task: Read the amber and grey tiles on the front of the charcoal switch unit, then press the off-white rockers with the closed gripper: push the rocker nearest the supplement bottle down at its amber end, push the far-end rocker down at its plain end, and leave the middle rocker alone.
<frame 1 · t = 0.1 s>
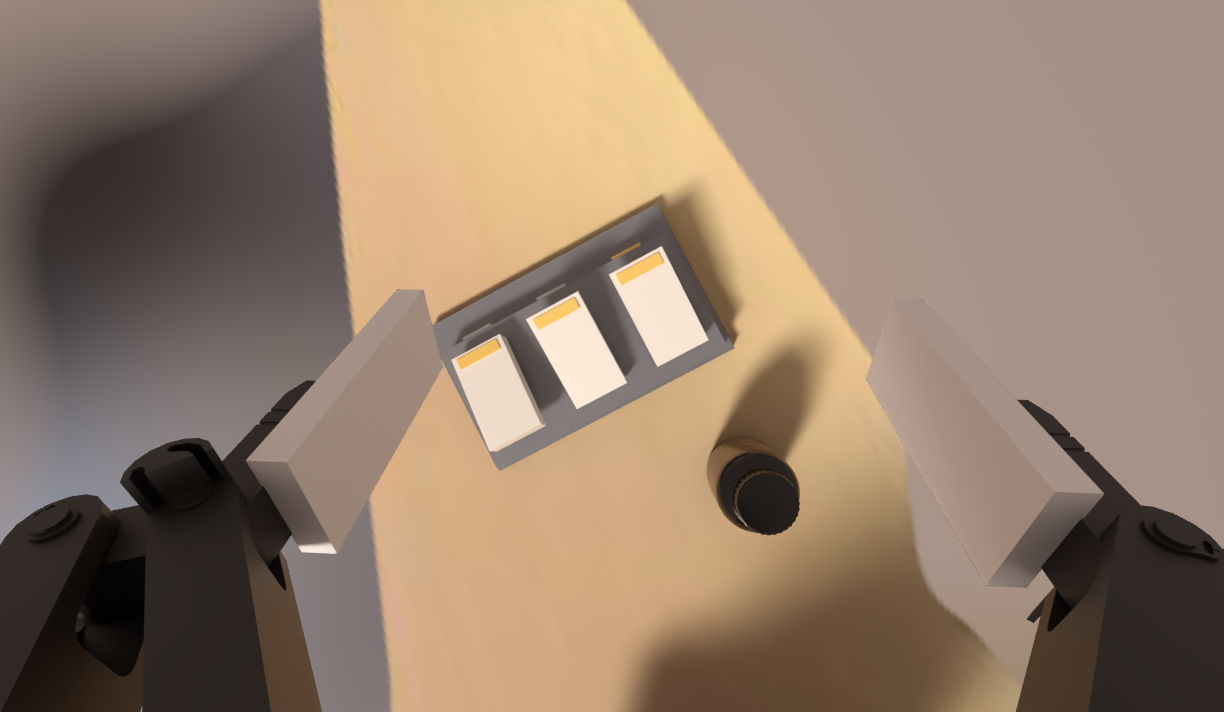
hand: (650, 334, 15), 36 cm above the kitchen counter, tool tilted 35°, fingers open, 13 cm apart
rocker a: (658, 307, 44), point 7 cm above the kitchen counter, hinge at -12.0°
switch unit: (579, 338, 51), on the kitchen counter
rocker c: (497, 392, 44), point 7 cm above the kitchen counter, hinge at 12.0°
supplement bottle: (739, 469, 50), on the kitchen counter
rocker b: (577, 350, 44), point 7 cm above the kitchen counter, hinge at -12.0°
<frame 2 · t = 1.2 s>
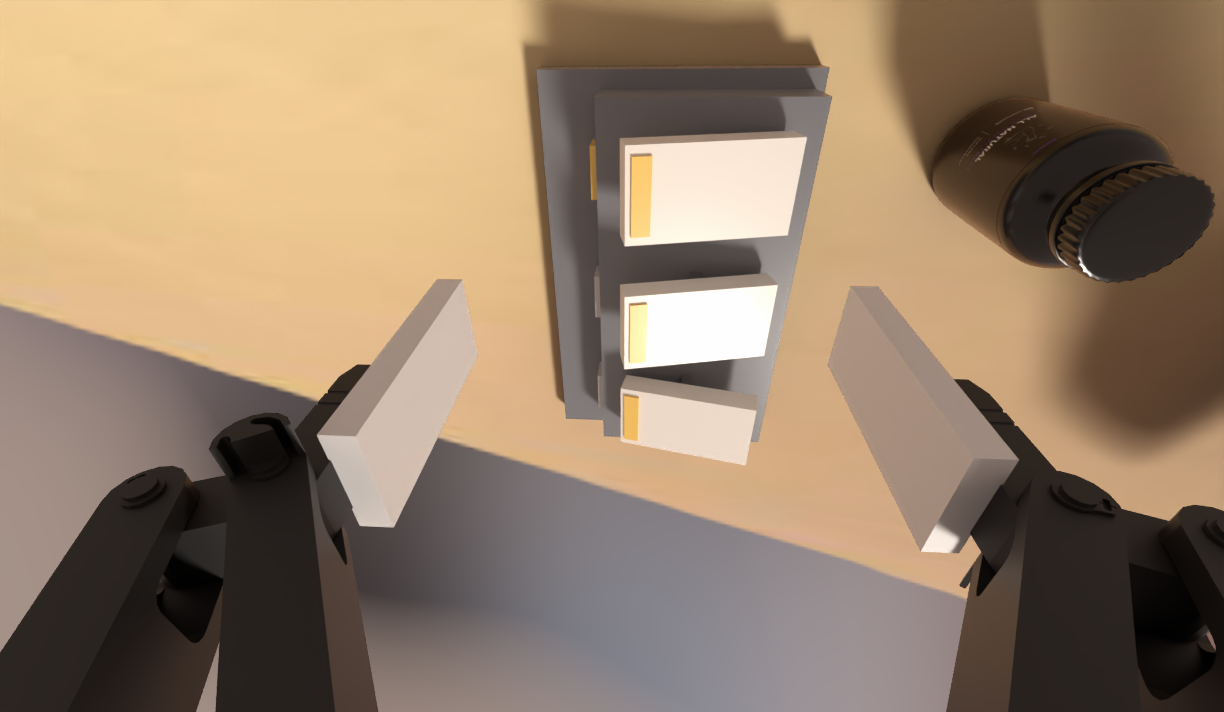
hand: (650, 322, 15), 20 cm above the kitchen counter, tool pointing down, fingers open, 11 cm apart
rocker a: (708, 189, 26), point 7 cm above the kitchen counter, hinge at -12.0°
switch unit: (667, 273, 36), on the kitchen counter
rocker c: (685, 420, 35), point 7 cm above the kitchen counter, hinge at 12.0°
supplement bottle: (986, 157, 31), on the kitchen counter
rocker b: (695, 322, 31), point 7 cm above the kitchen counter, hinge at -12.0°
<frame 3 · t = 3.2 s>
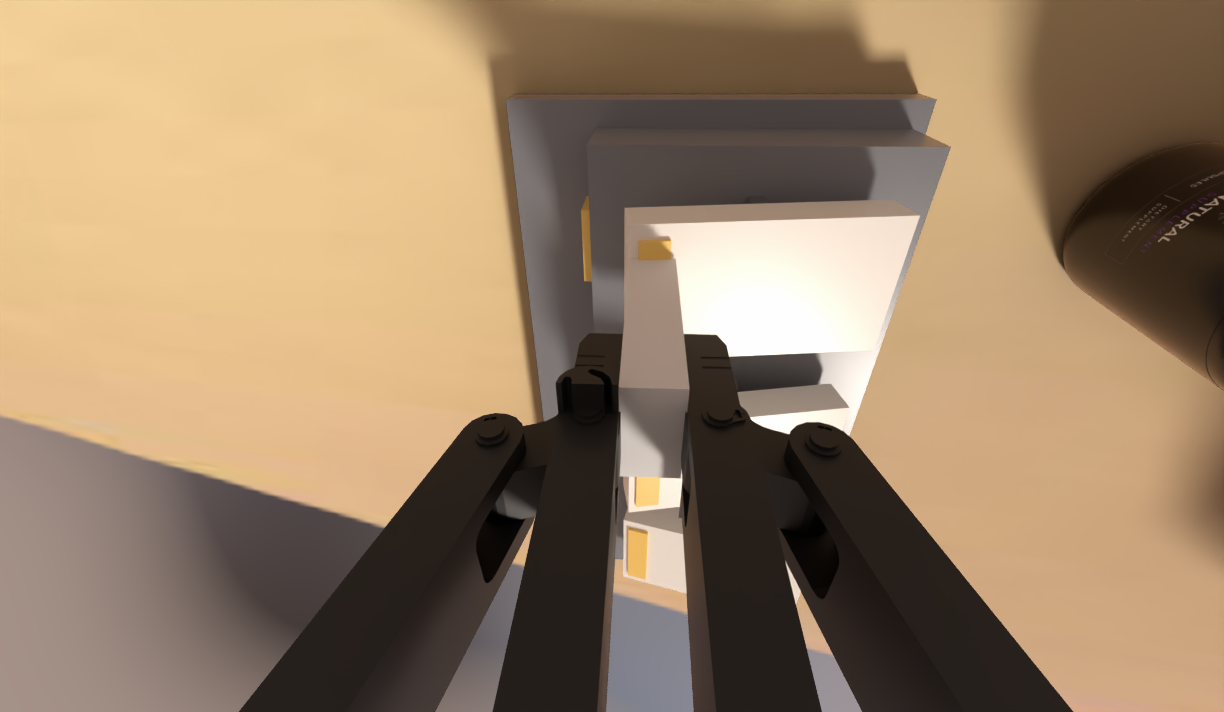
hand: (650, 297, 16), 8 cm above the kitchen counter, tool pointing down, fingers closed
rocker a: (756, 283, 17), point 7 cm above the kitchen counter, hinge at -8.1°, touching gripper
switch unit: (687, 359, 27), on the kitchen counter
rocker c: (709, 559, 26), point 7 cm above the kitchen counter, hinge at 12.0°
supplement bottle: (1142, 222, 22), on the kitchen counter
rocker b: (728, 450, 22), point 7 cm above the kitchen counter, hinge at -12.0°
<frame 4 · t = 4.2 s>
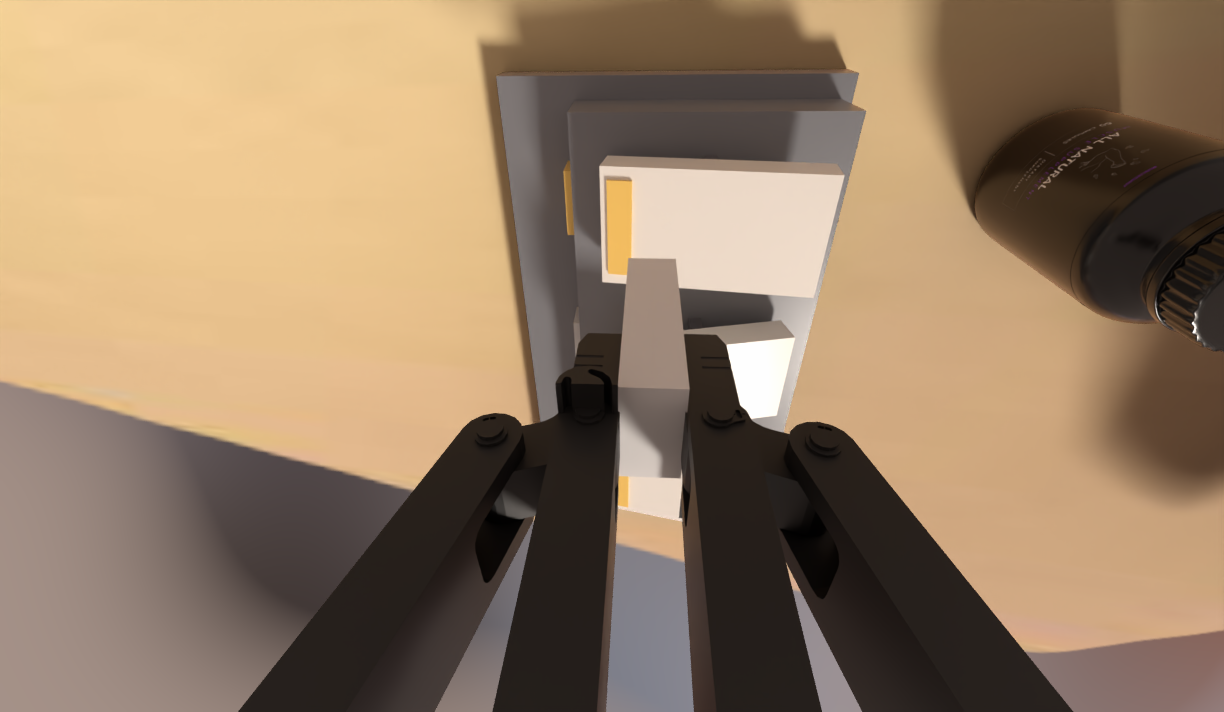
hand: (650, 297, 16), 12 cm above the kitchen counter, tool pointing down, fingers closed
rocker a: (711, 227, 21), point 7 cm above the kitchen counter, hinge at 8.2°
switch unit: (660, 311, 31), on the kitchen counter
rocker c: (683, 485, 30), point 7 cm above the kitchen counter, hinge at 12.0°
supplement bottle: (1038, 178, 26), on the kitchen counter
rocker b: (695, 379, 25), point 7 cm above the kitchen counter, hinge at -12.0°
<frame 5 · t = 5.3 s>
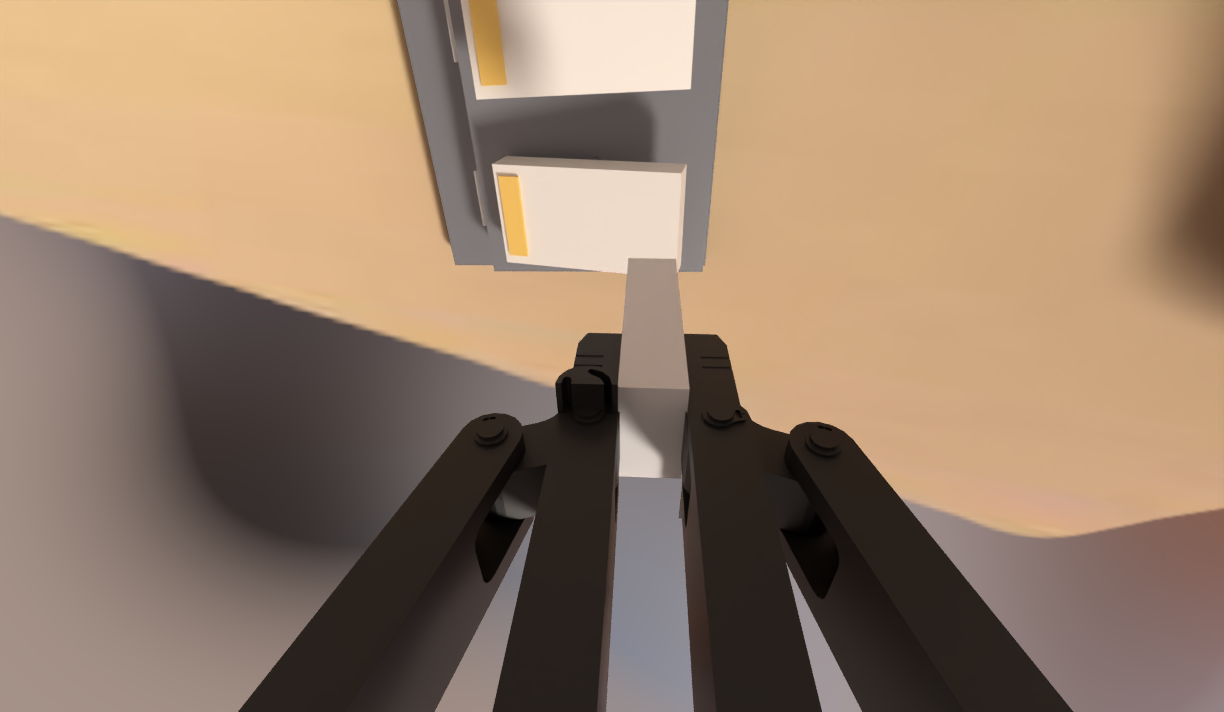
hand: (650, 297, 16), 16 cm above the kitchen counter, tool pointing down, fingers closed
switch unit: (565, 19, 26), on the kitchen counter
rocker c: (589, 217, 25), point 7 cm above the kitchen counter, hinge at 12.0°
rocker b: (580, 22, 20), point 7 cm above the kitchen counter, hinge at -12.0°
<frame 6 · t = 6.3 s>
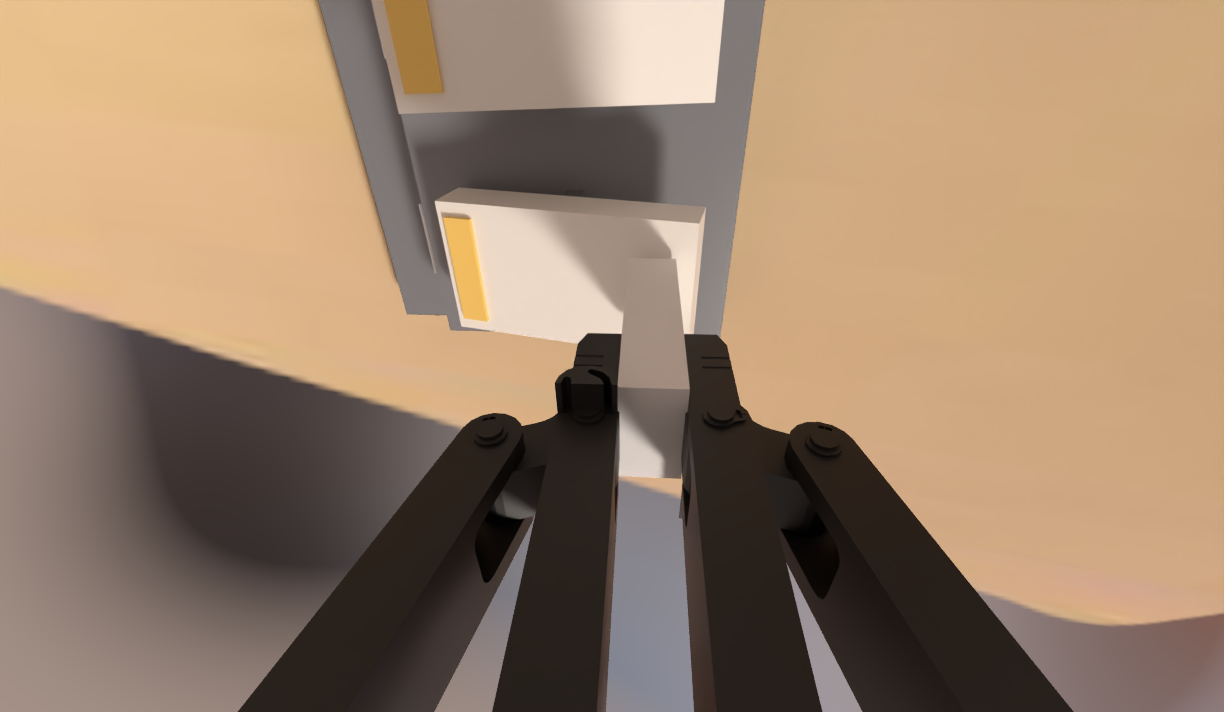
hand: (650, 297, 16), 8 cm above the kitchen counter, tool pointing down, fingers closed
switch unit: (543, 3, 19), on the kitchen counter
rocker c: (570, 273, 18), point 7 cm above the kitchen counter, hinge at 12.0°, touching gripper
rocker b: (554, 1, 13), point 7 cm above the kitchen counter, hinge at -12.0°
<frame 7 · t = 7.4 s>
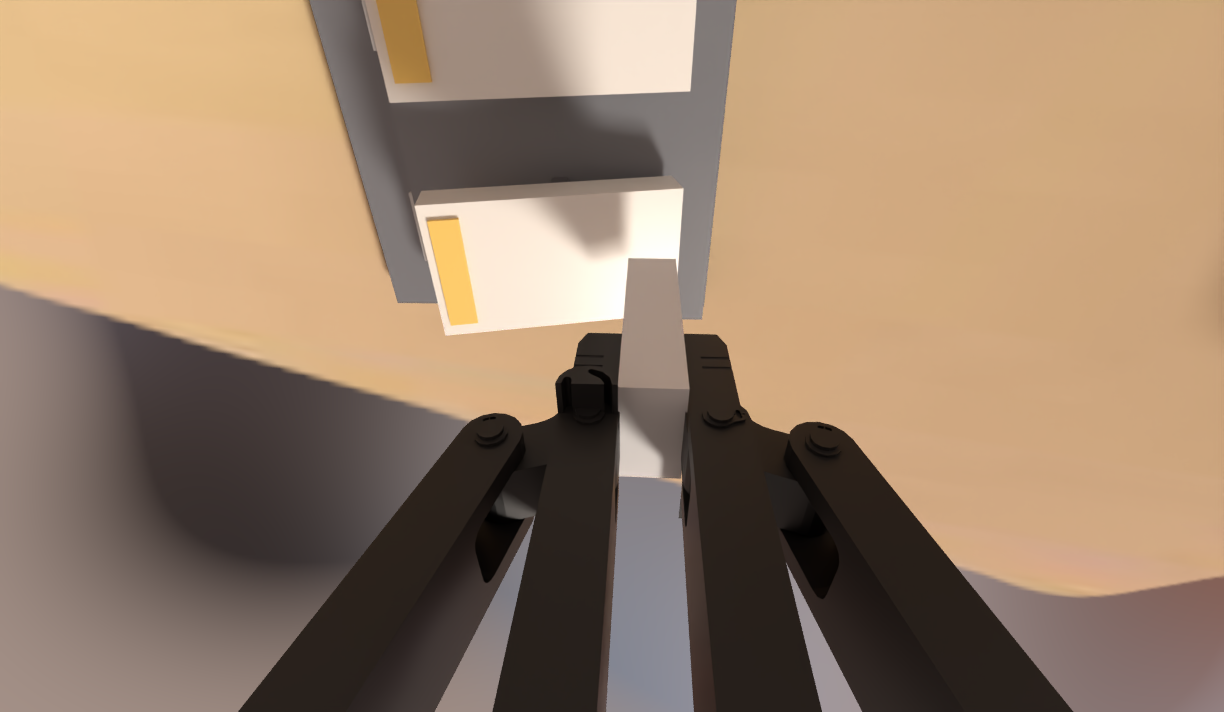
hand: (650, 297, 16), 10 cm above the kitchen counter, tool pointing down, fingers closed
rocker c: (557, 257, 19), point 7 cm above the kitchen counter, hinge at -12.1°
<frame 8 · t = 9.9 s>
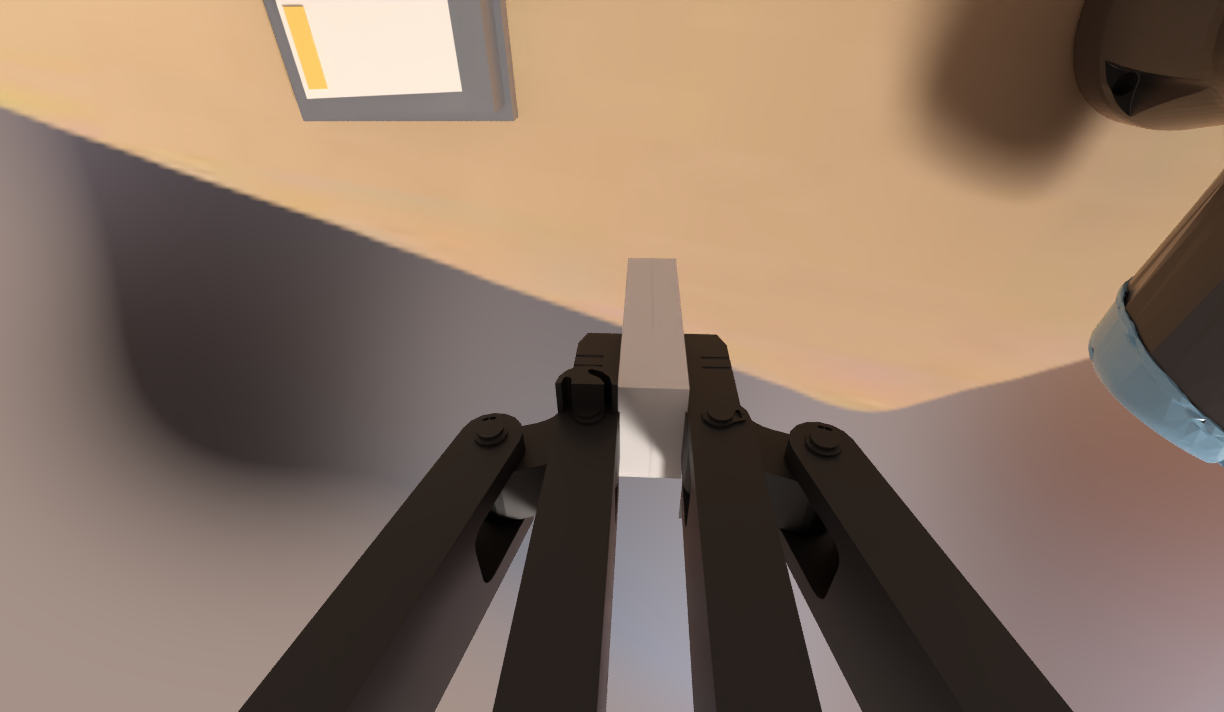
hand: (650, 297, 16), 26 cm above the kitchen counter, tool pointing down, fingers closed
rocker c: (376, 46, 30), point 7 cm above the kitchen counter, hinge at -18.7°, touching switch unit
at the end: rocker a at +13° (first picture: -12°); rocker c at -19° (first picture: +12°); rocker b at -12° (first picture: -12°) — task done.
